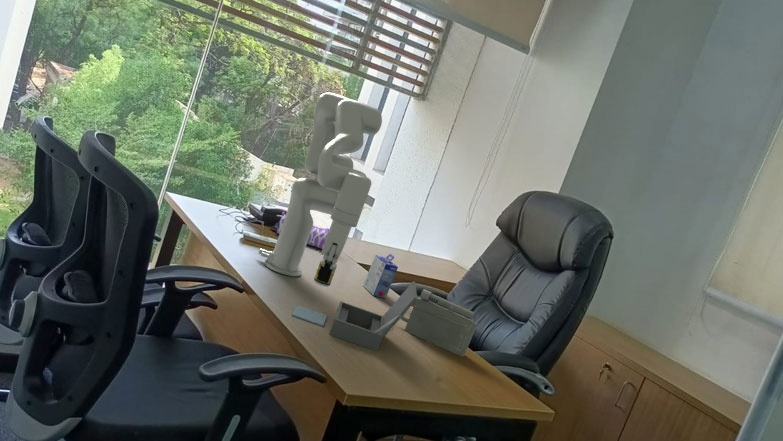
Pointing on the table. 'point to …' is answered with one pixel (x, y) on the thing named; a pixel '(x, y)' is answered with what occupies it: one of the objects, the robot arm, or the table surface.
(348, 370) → the table surface
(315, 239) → the pencil case
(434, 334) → the geiger counter
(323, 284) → the supplement bottle
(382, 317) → the case
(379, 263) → the ink cartridge box
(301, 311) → the pad
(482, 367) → the table surface
